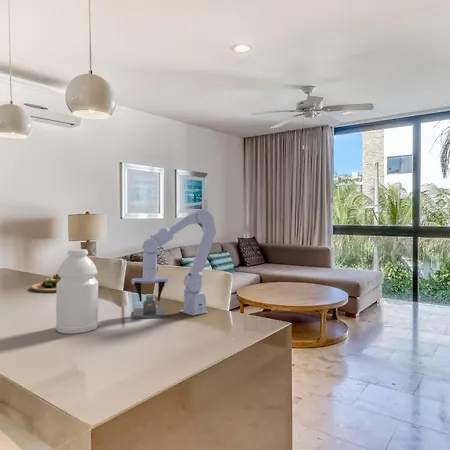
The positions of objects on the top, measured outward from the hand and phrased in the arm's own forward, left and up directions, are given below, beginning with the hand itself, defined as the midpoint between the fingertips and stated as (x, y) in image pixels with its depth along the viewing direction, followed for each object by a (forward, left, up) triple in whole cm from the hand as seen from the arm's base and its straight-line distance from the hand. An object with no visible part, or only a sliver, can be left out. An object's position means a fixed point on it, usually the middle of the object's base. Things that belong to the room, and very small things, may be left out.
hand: (149, 300), depth 152 cm
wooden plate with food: (+87, +8, -6) cm, 88 cm away
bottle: (-2, +30, -6) cm, 31 cm away
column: (0, 0, -4) cm, 4 cm away
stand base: (0, 0, -6) cm, 6 cm away
